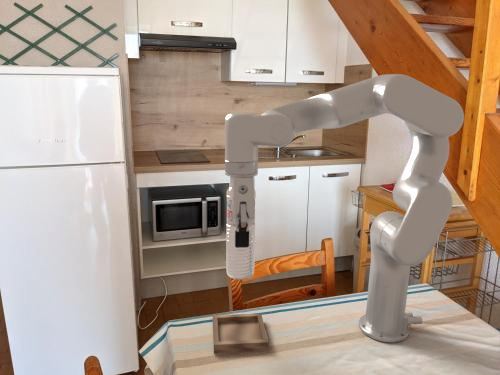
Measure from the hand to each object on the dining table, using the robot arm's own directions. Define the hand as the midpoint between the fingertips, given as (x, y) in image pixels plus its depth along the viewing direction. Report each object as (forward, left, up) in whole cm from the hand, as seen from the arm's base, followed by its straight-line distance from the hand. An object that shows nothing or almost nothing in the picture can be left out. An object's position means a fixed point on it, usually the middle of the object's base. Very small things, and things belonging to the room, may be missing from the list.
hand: (240, 240), depth 102 cm
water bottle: (0, 0, -9) cm, 9 cm away
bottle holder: (0, 0, -26) cm, 26 cm away
